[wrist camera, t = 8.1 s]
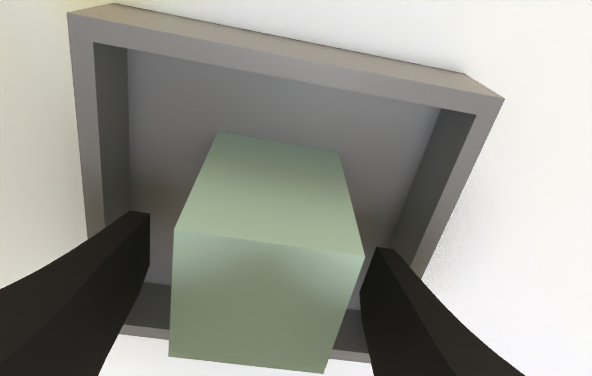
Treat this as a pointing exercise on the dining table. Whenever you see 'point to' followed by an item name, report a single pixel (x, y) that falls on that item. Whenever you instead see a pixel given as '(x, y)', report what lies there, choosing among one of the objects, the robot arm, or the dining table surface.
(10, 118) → the dining table surface
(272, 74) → the gray tray
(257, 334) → the mint block
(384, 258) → the robot arm
